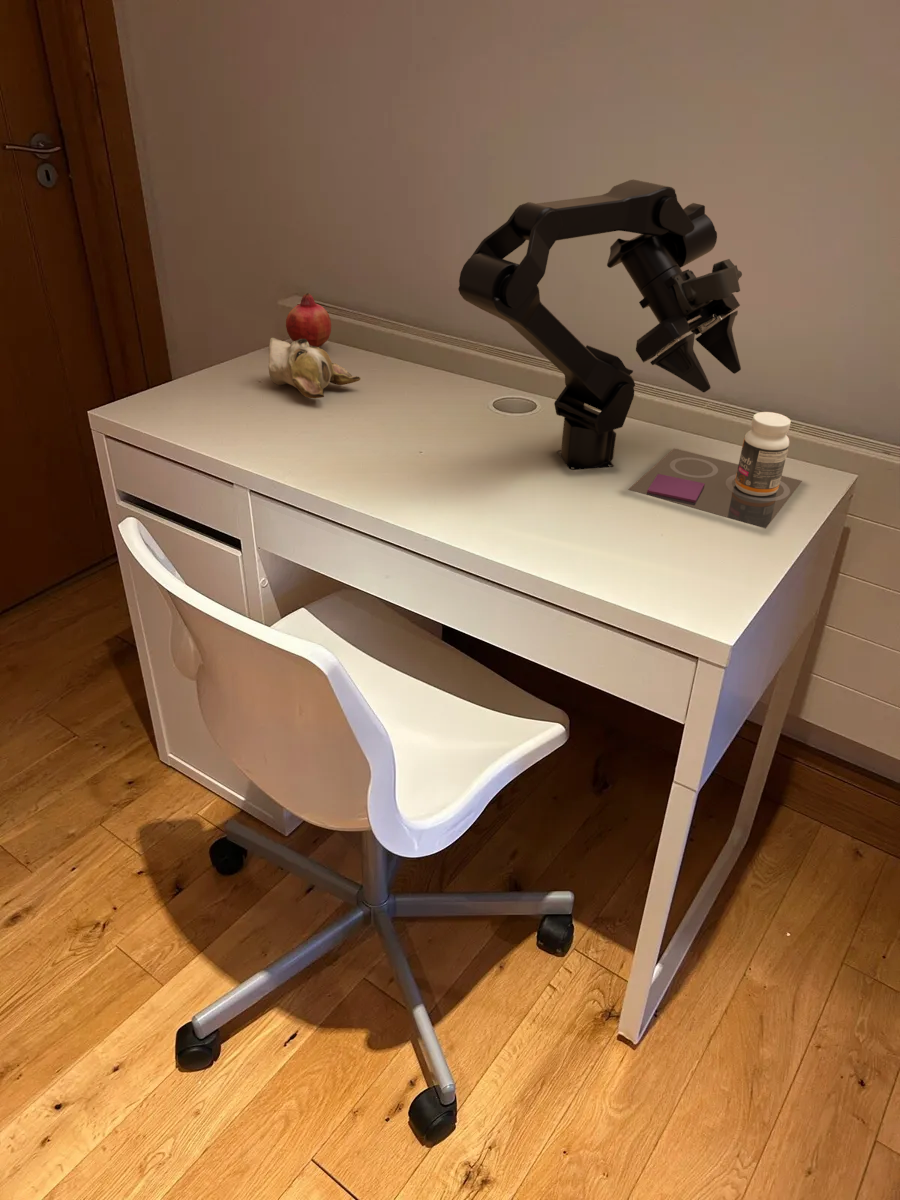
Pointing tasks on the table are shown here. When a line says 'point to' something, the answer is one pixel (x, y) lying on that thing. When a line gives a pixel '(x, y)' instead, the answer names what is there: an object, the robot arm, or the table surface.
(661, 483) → the plum cloth
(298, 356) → the ceramic sculpture
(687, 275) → the robot arm
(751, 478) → the pill bottle
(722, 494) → the hob
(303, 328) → the fruit
